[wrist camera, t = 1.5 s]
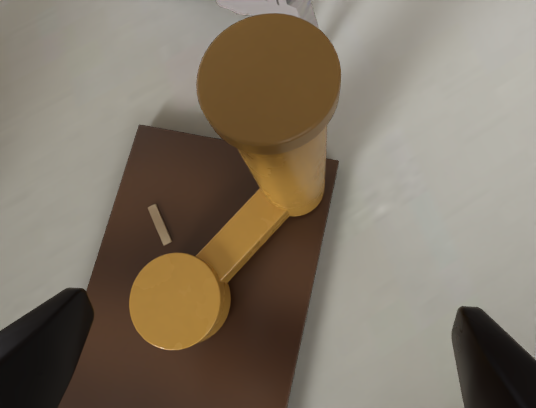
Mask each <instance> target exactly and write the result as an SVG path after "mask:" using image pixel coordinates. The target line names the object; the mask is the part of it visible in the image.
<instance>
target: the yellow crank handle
mask: <svg viewBox="0 0 536 408" xmlns="http://www.w3.org/2000/svg"><path fill="white" fill-rule="evenodd" d="M340 85H341V68H340V62H339V59H338V55H337V53H336V51H335V49H334V46H333V45H332V43H331V42H330V40H329V39H328V38H327V37H326V36H325V34H324V33H323V32H322V31H321V30H319V29H318V28H317V27H316V26H314V25H313V24H311V23H310V22H308V21H306V20H303V19H301V18H299V17H295V16H292V15H287V14H279V13H268V14H260V15H255V16H252V17H248V18H245V19H243V20H241V21H238V22H237V23H235V24H233V25H231V26H230V27H228V28H227V29H225V30H224V31H223V32H222V33H221V34H219V35H218V36H217V37H216V38H215V40H214V41H213V42H212V43H211V44H210V46H209V47H208V49H207V50H206V52H205V54H204V56H203V58H202V60H201V63H200V65H199V69H198V74H197V83H196V87H197V96H198V101H199V104H200V107H201V109H202V111H203V113H204V115H205V117H206V118H207V120H208V121H209V123H210V125H211V126H212V127H213V129H214V130H215V132H216V133H217V134H218V135H219V136H220V137H221V138H222V139H223V140H225V141H226V142H227V143H229V144H230V145H232V146H234V147H235V148H237V149H238V151H239V153H240V154H241V156H242V158H243V160H244V161H245V163H246V165H247V166H248V168H249V170H250V172H251V173H252V175H253V177H254V178H255V180H256V182H257V184H258V185H259V187H260V188H259V189H258V190H257V191H256V193H255V194H254V195H253V196H252V197H251V198H250V199H249V200H248V201H247V202H246V203H245V204H244V205H243V206H242V207H241V208H240V210H239V211H238V212H237V213H236V214H235V215H234V216H233V217H232V218H231V219H230V220H229V221H228V222H227V223H226V224H225V225H224V226H223V228H222V229H221V230H220V231H219V232H218V233H217V234H216V235H215V236H214V237H213V238H212V239H211V240H210V241H209V242H208V243H207V245H206V246H205V247H204V248H203V249H202V250H201V251H200V252H199V253H198V254H197V255H196V256H194V255H190V254H186V253H168V254H164V255H162V256H159V257H157V258H155V259H153V260H152V261H151V262H149V263H148V264H147V265H146V266H145V267H144V268H143V269H142V270H141V271H140V272H139V274H138V276H137V277H136V279H135V281H134V283H133V286H132V288H131V292H130V298H129V309H130V315H131V319H132V322H133V324H134V326H135V328H136V330H137V331H138V333H139V334H140V335H141V336H142V337H143V338H144V339H145V340H146V341H147V342H148V343H150V344H151V345H153V346H155V347H158V348H161V349H165V350H180V349H185V348H188V347H190V346H193V345H195V344H198V343H200V342H202V341H205V340H207V339H208V338H210V337H211V336H213V335H214V334H215V333H216V332H217V331H218V330H219V329H220V328H221V327H222V325H223V324H224V322H225V320H226V318H227V316H228V313H229V309H230V303H231V294H230V288H229V285H228V282H229V281H230V280H231V279H232V277H233V276H234V275H235V274H236V273H237V272H238V271H239V270H240V269H241V268H242V267H243V266H244V265H245V263H246V262H247V261H248V260H249V259H250V258H251V257H252V256H253V255H254V254H255V253H256V252H257V251H258V249H259V248H260V247H261V246H262V245H263V244H264V243H265V242H266V241H267V240H268V239H269V238H270V237H271V235H272V234H273V233H274V232H275V231H276V230H277V229H278V228H279V227H280V226H281V225H282V224H283V223H284V221H285V220H286V219H287V218H288V217H289V216H301V215H304V214H307V213H309V212H311V211H312V210H313V209H315V208H316V207H317V206H318V204H319V203H320V201H321V200H322V197H323V195H324V190H325V167H326V142H327V124H328V123H329V121H330V120H331V118H332V116H333V114H334V112H335V110H336V107H337V104H338V100H339V94H340Z"/></svg>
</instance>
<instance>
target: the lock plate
mask: <svg viewBox="0 0 536 408" xmlns="http://www.w3.org/2000/svg"><path fill="white" fill-rule="evenodd" d="M338 164H339V161H338V160H332V159H327V158H326V167H325V190H324V195H323V197H322V200H321V201H320V203H319V204H318V206H317V207H316V208H315V209H313V210H312V211H311V212H309V213H307V214H304V215H301V216H289V217H288V218H287V219H286V220H285V221H284V223H283V224H282V225H281V226H280V227H279V228H278V229H277V230H276V231H275V232H274V233H273V234H272V235H271V237H270V238H269V239H268V240H267V241H266V242H265V243H264V244H263V245H262V246H261V247H260V248H259V249H258V251H257V252H256V253H255V254H254V255H253V256H252V257H251V258H250V259H249V260H248V261H247V262H246V263H245V265H244V266H243V267H242V268H241V269H240V270H239V271H238V272H237V273H236V274H235V275H234V276H233V277H232V279H231V280H230V281H229V282H228V285H229V288H230V294H231V303H230V309H229V313H228V316H227V318H226V320H225V322H224V324H223V325H222V327H221V328H220V329H219V330H218V331H217V332H216V333H215V334H214V335H213V336H211V337H210V338H208V339H207V340H205V341H202V342H200V343H198V344H195V345H193V346H190V347H188V348H185V349H180V350H165V349H161V348H158V347H155V346H153V345H151V344H150V343H148V342H147V341H146V340H145V339H144V338H143V337H142V336H141V335H140V334H139V333H138V331H137V330H136V328H135V326H134V324H133V322H132V319H131V315H130V309H129V298H130V292H131V288H132V286H133V283H134V281H135V279H136V277H137V276H138V274H139V272H140V271H141V270H142V269H143V268H144V267H145V266H146V265H147V264H148V263H149V262H151V261H152V260H153V259H155V258H157V257H159V256H162V255H164V254H168V253H186V254H190V255H194V256H196V255H197V254H198V253H199V252H200V251H201V250H202V249H203V248H204V247H205V246H206V245H207V243H208V242H209V241H210V240H211V239H212V238H213V237H214V236H215V235H216V234H217V233H218V232H219V231H220V230H221V229H222V228H223V226H224V225H225V224H226V223H227V222H228V221H229V220H230V219H231V218H232V217H233V216H234V215H235V214H236V213H237V212H238V211H239V210H240V208H241V207H242V206H243V205H244V204H245V203H246V202H247V201H248V200H249V199H250V198H251V197H252V196H253V195H254V194H255V193H256V191H257V190H258V189H259V188H260V187H259V185H258V184H257V182H256V180H255V178H254V177H253V175H252V173H251V172H250V170H249V168H248V166H247V165H246V163H245V161H244V160H243V158H242V156H241V154H240V153H239V151H238V149H237V148H235V147H234V146H232V145H230V144H229V143H227V142H226V141H225V140H222V139H217V138H211V137H206V136H200V135H195V134H189V133H184V132H178V131H173V130H167V129H162V128H156V127H150V126H145V125H139V126H138V130H137V133H136V136H135V139H134V142H133V145H132V149H131V152H130V155H129V158H128V161H127V164H126V167H125V171H124V174H123V177H122V180H121V183H120V186H119V190H118V193H117V196H116V199H115V202H114V205H113V209H112V212H111V215H110V218H109V221H108V224H107V228H106V231H105V234H104V237H103V240H102V243H101V247H100V250H99V253H98V256H97V259H96V262H95V265H94V269H93V272H92V275H91V278H90V281H89V284H88V288H87V291H86V292H87V294H88V297H89V299H90V301H91V304H92V306H93V308H94V313H95V315H94V321H93V323H92V326H91V329H90V331H89V334H88V337H87V340H86V342H85V345H84V348H83V350H82V353H81V356H80V358H79V361H78V364H77V367H76V369H75V372H74V374H73V376H72V379H71V381H70V383H69V385H68V387H67V389H66V391H65V393H64V395H63V398H62V400H61V402H60V404H59V406H58V408H287V406H288V401H289V397H290V392H291V387H292V383H293V378H294V373H295V368H296V364H297V359H298V354H299V349H300V345H301V340H302V335H303V330H304V326H305V321H306V316H307V312H308V307H309V302H310V297H311V293H312V288H313V283H314V278H315V274H316V269H317V264H318V259H319V255H320V250H321V245H322V241H323V236H324V231H325V226H326V222H327V217H328V212H329V207H330V203H331V198H332V193H333V188H334V184H335V179H336V174H337V170H338Z"/></svg>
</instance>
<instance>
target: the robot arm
mask: <svg viewBox="0 0 536 408" xmlns="http://www.w3.org/2000/svg"><path fill="white" fill-rule="evenodd" d="M94 315H95V313H94V308H93V306H92V304H91V301H90V299H89V297H88V294H87V292H86V291H85V290H84V289H82V288H66V289H65V290H63V291H61V292H60V293H58V294H57V295H55V296H54V297H52V298H50V299H49V300H47V301H46V302H44V303H43V304H41V305H40V306H38V307H37V308H35V309H33V310H32V311H30V312H29V313H27V314H26V315H24V316H23V317H21V318H20V319H18V320H16V321H15V322H13V323H12V324H10V325H9V326H7V327H6V328H4V329H3V330H1V331H0V408H58V406H59V404H60V402H61V400H62V398H63V395H64V393H65V391H66V389H67V387H68V385H69V383H70V381H71V379H72V376H73V374H74V372H75V369H76V367H77V364H78V361H79V358H80V356H81V353H82V350H83V348H84V345H85V342H86V340H87V337H88V334H89V331H90V329H91V326H92V323H93V321H94ZM452 344H453V349H454V355H455V360H456V365H457V371H458V376H459V382H460V387H461V392H462V398H463V402H464V407H465V408H536V360H535V359H534V358H533V357H532V356H531V355H530V354H529V353H528V352H527V351H526V350H525V349H523V348H522V347H521V346H520V345H519V344H518V343H517V342H516V341H515V340H514V339H513V338H512V337H511V336H510V335H509V334H508V333H507V332H505V331H504V330H503V329H502V328H501V327H500V326H499V325H498V324H497V323H496V322H495V321H494V320H493V319H492V318H491V317H490V316H489V315H487V314H486V313H485V312H484V311H483V310H482V309H480V308H478V307H466V306H462V307H460V308H459V309H458V311H457V314H456V318H455V321H454V325H453V329H452Z"/></svg>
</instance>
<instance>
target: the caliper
mask: <svg viewBox="0 0 536 408" xmlns="http://www.w3.org/2000/svg"><path fill="white" fill-rule="evenodd" d="M216 2H217V4H218V5H219V6H220V7H222V8H227V9H230V10H232V11H233V12H235V13H236V14H241V15H248V14H249V15H251V16H255V15H260V14H268V13H279V14H287V15H292V16H295V17H299V18H301V19H303V20H306V21H308V22H310V23H311V24H313V25H314V26H316V27H317V28H318V23H317V19H316V16H315V13H314V10H313V7H312V3H311V0H216Z"/></svg>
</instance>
